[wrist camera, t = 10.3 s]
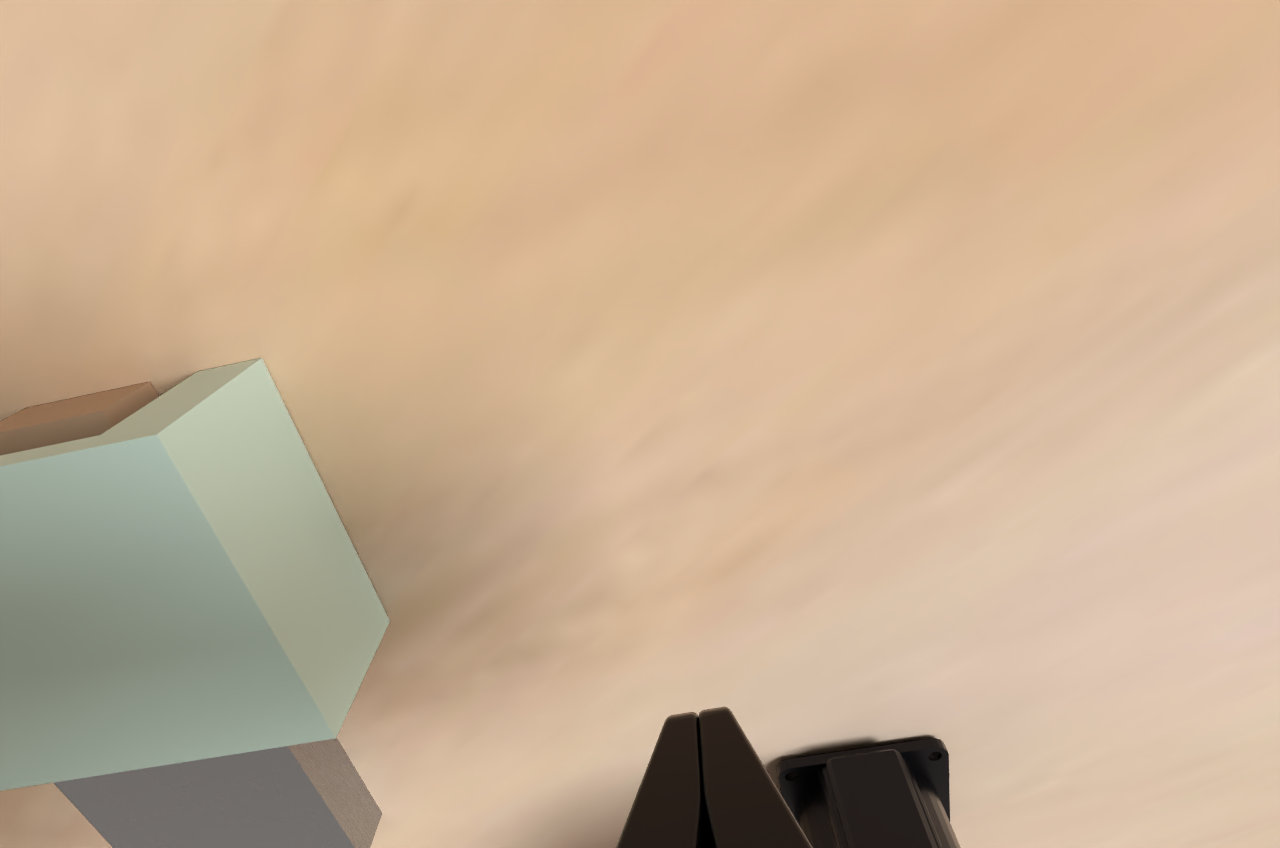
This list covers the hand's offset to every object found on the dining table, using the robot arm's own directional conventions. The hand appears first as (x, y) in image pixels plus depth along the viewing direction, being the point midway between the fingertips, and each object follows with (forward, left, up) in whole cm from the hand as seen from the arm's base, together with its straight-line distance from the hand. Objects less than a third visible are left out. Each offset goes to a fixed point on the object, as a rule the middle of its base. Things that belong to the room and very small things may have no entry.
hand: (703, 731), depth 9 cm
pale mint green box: (-2, +20, -12) cm, 23 cm away
